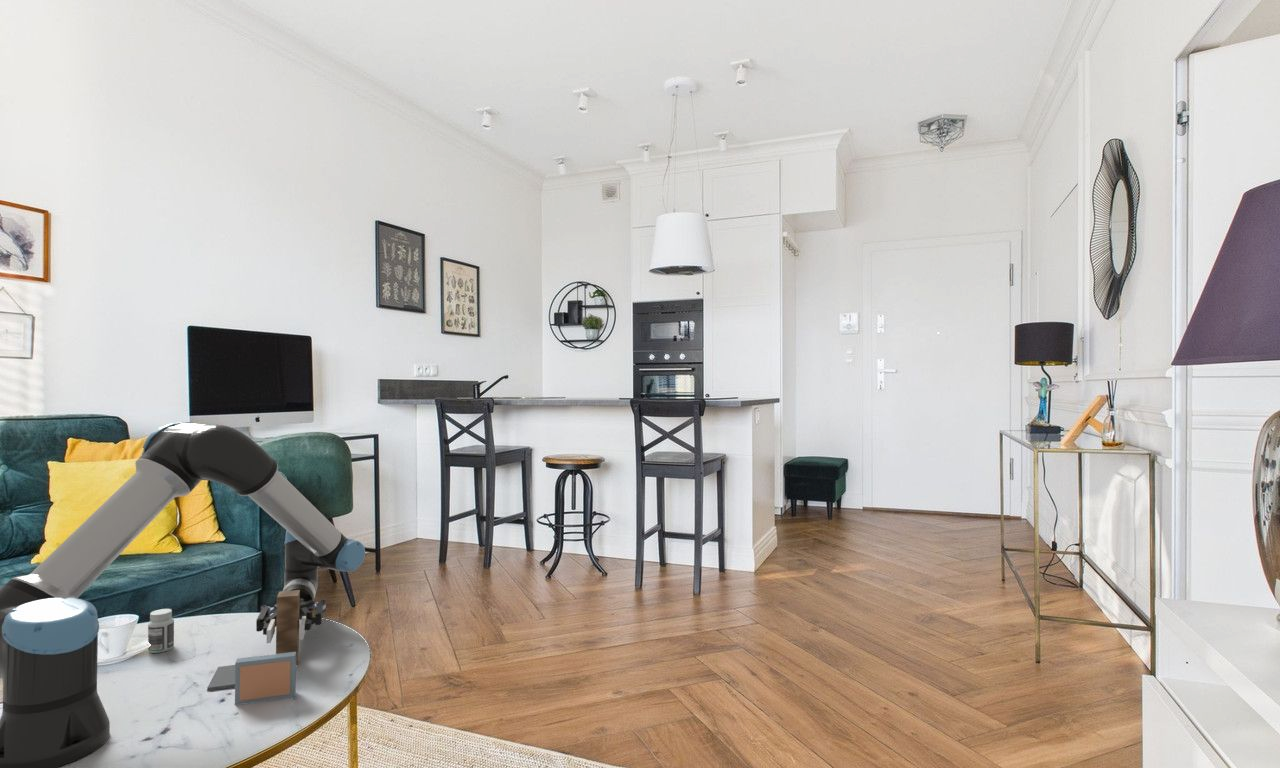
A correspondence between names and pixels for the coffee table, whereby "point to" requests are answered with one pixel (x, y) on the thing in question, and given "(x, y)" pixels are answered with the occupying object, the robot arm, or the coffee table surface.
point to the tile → (265, 678)
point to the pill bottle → (161, 631)
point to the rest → (223, 678)
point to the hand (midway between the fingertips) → (285, 634)
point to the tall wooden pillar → (288, 622)
